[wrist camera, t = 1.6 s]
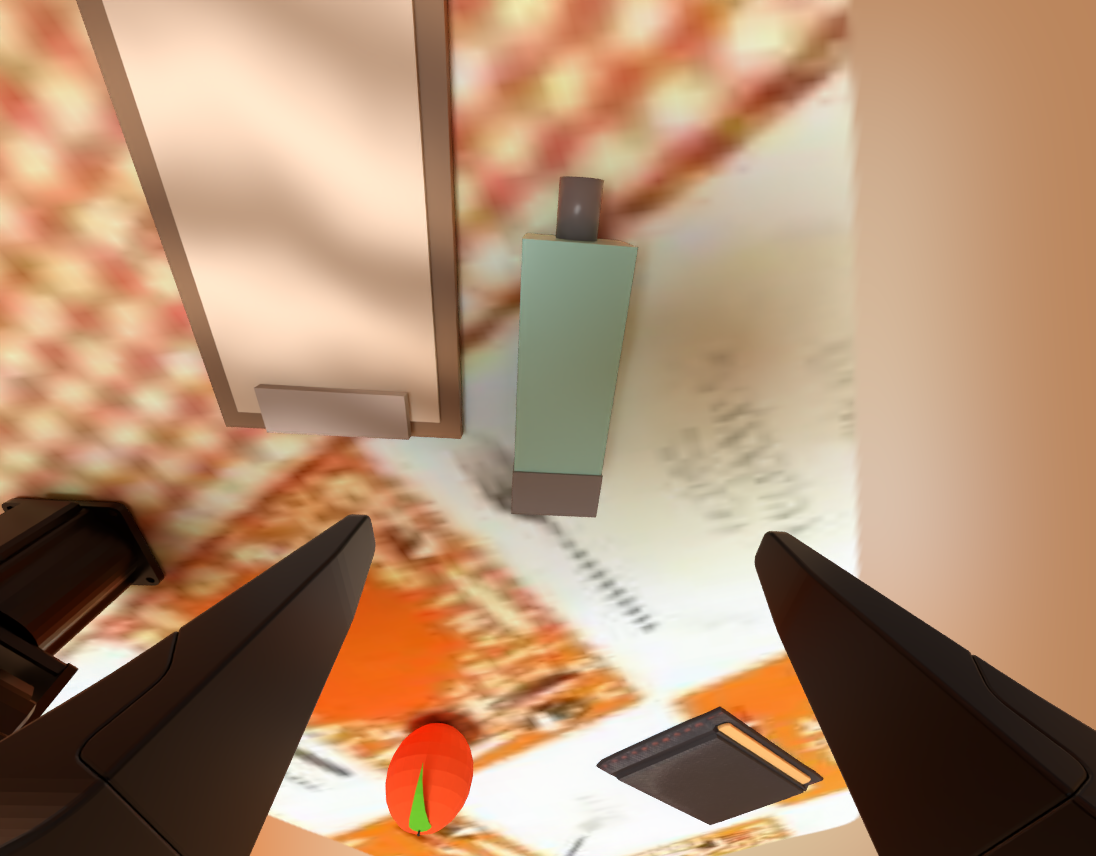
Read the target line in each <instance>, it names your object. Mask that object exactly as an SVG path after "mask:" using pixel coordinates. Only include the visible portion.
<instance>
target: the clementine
mask: <svg viewBox="0 0 1096 856" xmlns="http://www.w3.org/2000/svg"><path fill="white" fill-rule="evenodd" d="M472 778H473V759H472V755H471V750H470V747H469V745H468V743H467V741H466V739H465V737H464V736H463V735H462V734H461V733H460V732H459V731H458V730H457V729H456V728H454V727H453V726H450V725H448V724H444V723H430V724H427V725H424V726H422V727H420V728H418V729H416V730H414V731H413V732H412V733H411V734H410V735H409V736H408V737H406V738H405V739H404V740H403V741H402V743H401V744H400V746H399V747H398V749H397V751H396V752H395V754H394V755H393V758H392V760H391V763H390V765H389V768H388V772H387V778H386V802H387V805H388V808H389V811H390V814H391V816H392V817H393V819H394V820H395V821H396V823H397V824H398V825H399V826H400V827H401V828H402V829H403V830H404V831H406V832H409V833H413V834H417V836H420V834H421V835H423V834H432V833H435V832H437V831H439V830H440V829H442V828H443V827H445V826H446V825H447V824H448V823H450V822H451V821H452V820H453V819H454V818H455V816H456V815H457V814H458V812H459V811H460V810H461V808H462V807H463V805H464V803H465V801H466V799H467V797H468V795H469V791H470V786H471V782H472Z"/></svg>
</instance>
